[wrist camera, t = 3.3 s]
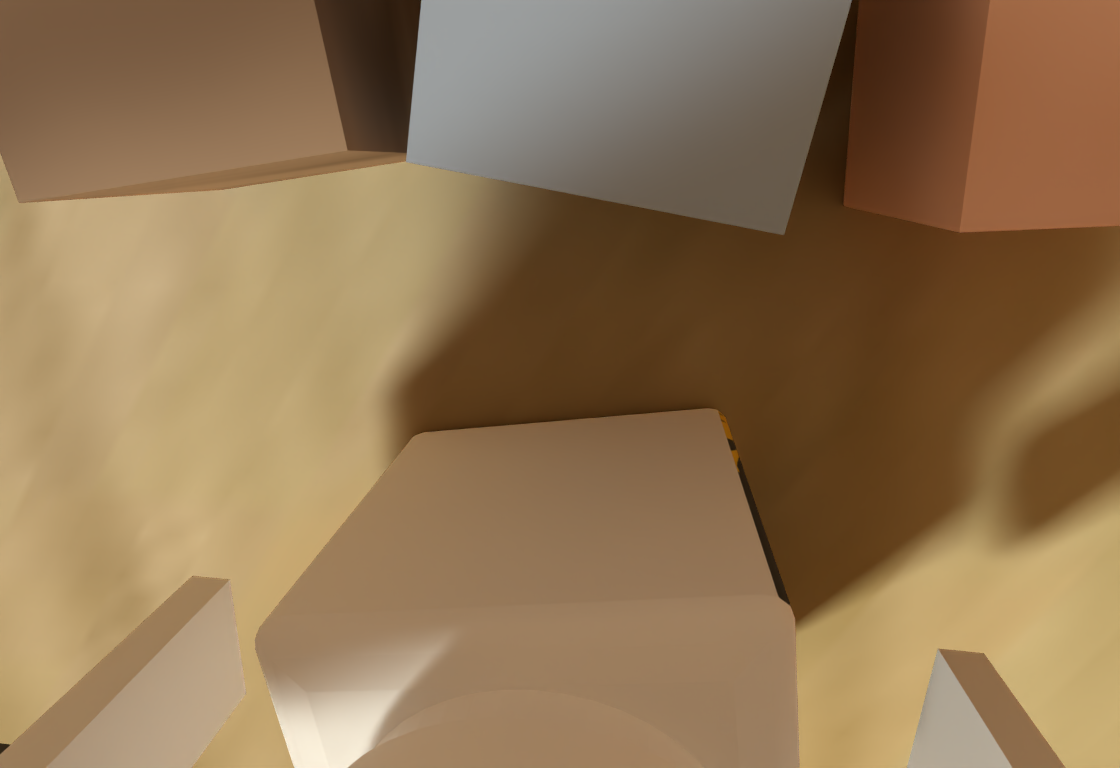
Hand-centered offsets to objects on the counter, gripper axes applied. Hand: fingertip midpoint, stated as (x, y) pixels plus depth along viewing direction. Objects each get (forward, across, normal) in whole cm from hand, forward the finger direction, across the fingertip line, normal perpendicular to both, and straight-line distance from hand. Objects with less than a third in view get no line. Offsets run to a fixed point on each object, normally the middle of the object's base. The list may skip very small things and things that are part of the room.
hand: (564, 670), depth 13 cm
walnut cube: (+4, -6, +11) cm, 13 cm away
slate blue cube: (+4, 0, +11) cm, 12 cm away
